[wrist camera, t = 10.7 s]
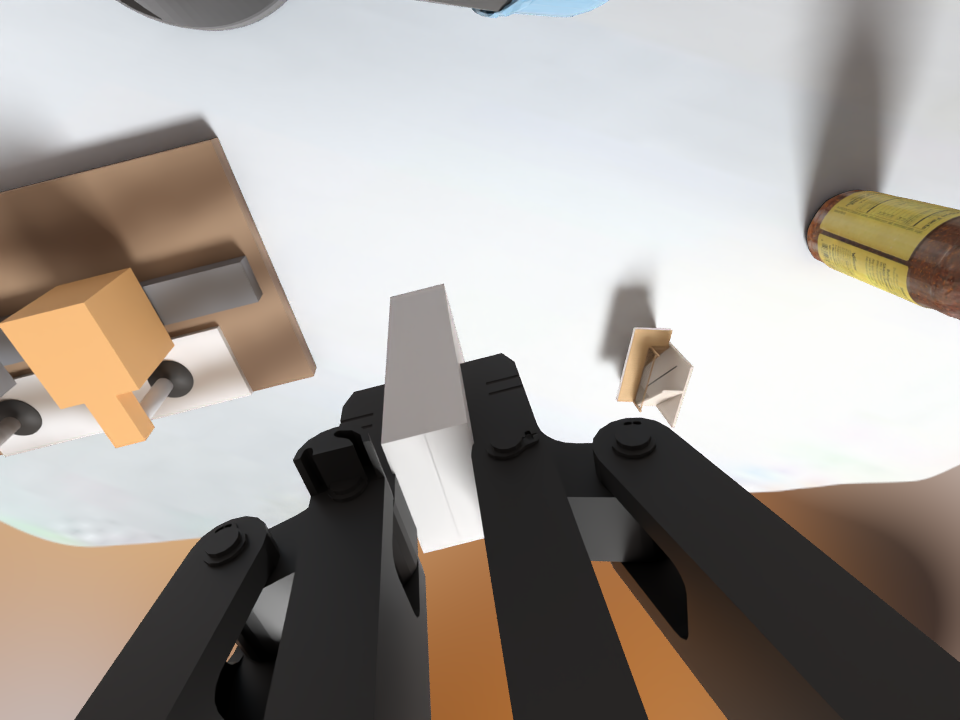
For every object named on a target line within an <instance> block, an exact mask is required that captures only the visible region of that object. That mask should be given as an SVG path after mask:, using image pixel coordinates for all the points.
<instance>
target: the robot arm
mask: <svg viewBox="0 0 960 720" xmlns="http://www.w3.org/2000/svg"><path fill="white" fill-rule="evenodd" d="M116 1H118V2H120V3H121V4H123V5H125V6H126V7H128V8H130V9H132V10H134V11H136V12H138V13H140V14H142V15H144V16H146V17H149V18H151V19H154V20H157V21H159V22H162V23H166V24H169V25H173V26H178V27H183V28H190V29H197V30H207V31H221V30H230V29H235V28H240V27H244V26H247V25H250V24H252V23H255V22H257V21H259V20H261V19H263V18H265V17H267V16H268V15H270V14H271V13H273V12H274V11H276V10H277V9H278V8H280V7H281V6H282V5H283V4H284V3H285V2H286V1H287V0H116ZM417 1H424V2H432V3H439V4H446V5H453V6H461V7H468V8H472V10H473V11H474V12H476V13H477V14H479V15H481V16H485V17H490V18H497V17H498V16H509V15H511V14H513V13H516V14H528V15H540V16H551V17H573V16H574V15H578V14H581V13H585V12H589V11H591V10H593V9H594V8H597V7H599V6H601V5H603V4H604V3H606V2H607V1H609V0H417ZM340 421H341V424H340V426H339V427H335V428H332V429H329V430H327V431H324V432H321V433H320V434H318V435H316V436H315V437H313V438H311V439H310V440H308V441H307V442H306V443H305V444H304V445H303V446H302V447H301V448H300V449H299V450H298V452H297V453H296V455H295V457H294V459H293V462H294V464H295V466H296V468H297V470H298V472H299V473H300V475H301V477H302V479H303V481H304V483H305V485H306V487H307V489H308V491H309V493H310V495H311V499H310V503H309V507H308V508H307V509H306V510H305V511H303V512H301V513H299V514H298V515H296V516H294V517H292V518H290V519H288V520H286V521H284V522H282V523H280V524H278V525H276V526H274V527H272V528H270V529H268V528H267V526H266V524H265V523H264V522H263V521H261V520H260V519H259V518H257V517H248V516H245V517H240V518H236V519H231V520H229V521H227V522H225V523H223V524H221V525H219V526H217V527H215V528H214V529H212V530H211V531H210V532H208V533H207V534H206V535H204V536H203V537H202V538H201V539H200V540H199V541H198V542H197V544H196V545H195V546H194V547H193V548H192V549H191V551H190V552H189V553H188V555H187V556H186V558H185V559H184V561H183V562H182V564H181V565H180V567H179V568H178V569H177V571H176V572H175V574H174V576H173V577H172V578H171V580H170V581H169V583H168V584H167V586H166V587H165V588H164V590H163V591H162V593H161V594H160V596H159V597H158V599H157V600H156V602H155V603H154V604H153V606H152V607H151V609H150V610H149V612H148V613H147V615H146V616H145V618H144V619H143V621H142V622H141V623H140V625H139V626H138V628H137V629H136V631H135V632H134V634H133V635H132V637H131V638H130V640H129V641H128V642H127V644H126V645H125V647H124V648H123V650H122V651H121V653H120V654H119V656H118V657H117V658H116V660H115V661H114V663H113V664H112V666H111V667H110V669H109V670H108V671H107V673H106V675H105V676H104V677H103V679H102V681H101V682H100V683H99V685H98V686H97V688H96V689H95V691H94V692H93V693H92V695H91V696H90V698H89V699H88V701H87V702H86V704H85V705H84V706H83V708H82V709H81V711H80V712H79V714H78V715H77V717H76V718H75V720H431V706H430V682H429V658H428V634H427V609H426V587H425V586H426V585H425V574H424V571H423V568H422V565H421V563H420V560H419V558H418V546H417V537H418V539H419V542H420V545H421V547H422V550H423V552H424V553H426V552H430V551H434V550H438V549H443V548H447V547H450V546H454V545H458V544H462V543H466V542H470V541H474V540H478V539H482V538H484V539H485V545H486V551H487V558H488V564H489V570H490V576H491V583H492V589H493V595H494V601H495V607H496V613H497V619H498V626H499V633H500V639H501V645H502V651H503V657H504V664H505V670H506V676H507V682H508V688H509V695H510V701H511V707H512V713H513V719H514V720H648V717H647V714H646V712H645V709H644V706H643V703H642V701H641V698H640V695H639V693H638V690H637V687H636V685H635V682H634V679H633V676H632V673H631V671H630V668H629V665H628V663H627V660H626V657H625V654H624V652H623V649H622V646H621V643H620V641H619V638H618V635H617V632H616V630H615V627H614V624H613V621H612V619H611V616H610V613H609V610H608V608H607V605H606V602H605V600H604V597H603V594H602V591H601V588H600V586H599V583H598V580H597V578H596V575H595V572H594V569H593V567H592V564H591V561H611V564H612V565H613V568H614V569H615V570H616V572H617V573H618V575H619V576H620V577H621V579H622V580H623V581H624V582H625V584H626V585H627V586H628V588H629V589H630V590H631V592H632V593H633V594H634V596H635V597H636V598H637V600H638V601H639V602H640V603H641V605H642V606H643V608H644V609H645V610H646V611H647V613H648V614H649V615H650V617H651V618H652V620H653V621H654V622H655V624H656V625H657V626H658V627H659V629H660V630H661V631H662V633H663V634H664V636H665V637H666V638H667V639H668V641H669V642H670V643H671V645H672V646H673V647H674V649H675V650H676V651H677V653H678V654H679V655H680V657H681V658H682V659H683V661H684V662H685V663H686V665H687V666H688V667H689V668H690V670H691V671H692V673H693V674H694V675H695V677H696V678H697V679H698V681H699V682H700V683H701V684H702V686H703V687H704V688H705V690H706V691H707V692H708V694H709V695H710V696H711V698H712V699H713V700H714V702H715V703H716V704H717V706H718V707H719V708H720V710H721V711H722V712H723V714H724V715H725V716H726V717H727V719H728V720H960V662H958V661H957V660H956V659H955V658H954V657H952V656H951V655H950V654H949V653H947V652H946V651H945V650H944V649H943V648H941V647H940V646H939V645H938V644H936V643H935V642H934V641H933V640H931V639H930V638H929V637H927V636H926V635H925V634H924V633H923V632H921V631H920V630H919V629H918V628H916V627H915V626H914V625H913V624H911V623H910V622H909V621H908V620H906V619H905V618H904V617H903V616H902V615H900V614H899V613H898V612H896V611H895V610H894V609H893V608H892V607H890V606H889V605H888V604H887V603H885V602H884V601H883V600H882V599H880V598H879V597H878V596H877V595H875V594H874V593H873V592H872V591H871V590H869V589H868V588H867V587H866V586H864V585H863V584H862V583H860V582H859V581H858V580H857V579H856V578H854V577H853V576H852V575H850V574H849V573H848V572H847V571H846V570H844V569H843V568H842V567H841V566H839V565H838V564H837V563H836V562H835V561H833V560H832V559H831V558H830V557H828V556H827V555H826V554H825V553H823V552H822V551H821V550H820V549H818V548H817V547H816V546H815V545H813V544H812V543H811V542H810V541H809V540H807V539H806V538H805V537H803V536H802V535H801V534H800V533H799V532H797V531H796V530H795V529H794V528H792V527H791V526H790V525H789V524H787V523H786V522H785V521H784V520H782V519H781V518H780V517H779V516H778V515H776V514H775V513H774V512H772V511H771V510H770V509H769V508H768V507H766V506H765V505H764V504H763V503H761V502H760V501H759V500H758V499H756V498H755V497H754V496H753V495H751V494H750V493H749V492H748V491H746V490H745V489H744V488H743V487H742V486H740V485H739V484H738V483H737V482H735V481H734V480H733V479H732V478H730V477H729V476H728V475H727V474H725V473H724V472H723V471H722V470H720V469H719V468H718V467H717V466H715V465H714V464H713V463H712V462H711V461H709V460H708V459H707V458H706V457H704V456H703V455H702V454H701V453H699V452H698V451H697V450H696V449H694V448H693V447H692V446H691V445H689V444H688V443H687V442H686V441H684V440H683V439H682V438H681V437H679V436H678V435H677V434H676V433H675V432H673V431H672V430H671V429H670V428H668V427H667V426H665V425H663V424H661V423H659V422H657V421H654V420H650V419H645V418H625V419H621V420H617V421H614V422H611V423H609V424H608V425H606V426H604V427H603V428H601V429H600V430H599V431H598V433H597V434H596V436H595V437H594V438H593V443H565V442H561V441H556V440H554V439H552V438H550V437H548V436H546V435H545V434H544V433H543V432H541V431H540V429H539V427H538V425H537V423H536V420H535V418H534V415H533V412H532V409H531V406H530V404H529V401H528V398H527V395H526V393H525V390H524V387H523V384H522V381H521V379H520V377H519V373H518V370H517V368H516V365H515V362H514V361H512V360H511V359H510V358H508V357H507V356H505V355H504V354H502V353H501V354H497V355H493V356H489V357H485V358H481V359H477V360H473V361H469V362H465V361H464V357H463V353H462V350H461V346H460V342H459V338H458V335H457V331H456V327H455V324H454V320H453V316H452V313H451V309H450V305H449V301H448V298H447V294H446V290H445V287H444V284H440V285H436V286H433V287H429V288H425V289H421V290H417V291H413V292H409V293H405V294H401V295H397V296H393V297H390V312H389V328H388V343H387V359H386V375H385V384H384V385H380V386H376V387H372V388H368V389H364V390H360V391H356V392H354V393H353V394H352V395H351V397H350V398H349V399H348V401H347V402H346V403H345V405H344V406H343V409H342V415H341V420H340ZM235 643H236V644H237V645H238V646H237V648H236V650H235V652H234V654H233V655H232V656H231V658H230V659H229V661H228V662H226V660H227V658H228V656H229V654H230V652H231V650H232V648H233V647H234V645H235Z"/></svg>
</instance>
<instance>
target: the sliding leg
mask: <svg viewBox="0 0 960 720" xmlns="http://www.w3.org/2000/svg"><path fill="white" fill-rule="evenodd" d="M0 328H1V329H2V331H3V332H4V333H5V335H6V336H7V337H8V339H9V340H10V341H11V343H12V344H13V345H14V347H15V348H16V350H17V351H18V352H19V354H20V355H21V356H22V358H23V359H24V360H25V362H26V363H27V364H28V366H29V367H30V369H31V370H32V371H33V373H34V374H35V375H36V377H37V378H38V379H39V381H40V382H41V383H42V385H43V386H44V388H45V389H46V390H47V392H48V393H49V394H50V396H51V397H52V398H53V400H54V401H55V402H56V404H57V405H58V406H59V408H60V409H64V408H68V407H72V406H76V405H80V404H85V405H86V407H87V408H88V410H89V411H90V412H91V414H92V415H93V417H94V418H95V419H96V421H97V422H98V424H99V425H100V427H101V428H102V429H103V431H104V432H105V434H106V435H107V436H108V438H109V439H110V441H111V442H112V444H113V445H114V446H115V448H118V447H122V446H126V445H130V444H134V443H138V442H142V441H146V439H147V438H148V436H149V435H150V433H151V432H152V430H153V429H154V425H153V424H152V422H151V421H150V420H151V418H152V417H153V416H154V414H155V413H156V411H157V410H158V408H159V407H160V406H161V404H162V403H163V401H164V400H165V399H166V397H167V396H168V394H169V393H170V392H171V390H172V389H173V384H172V382H171V381H170V380H168V379H166V378H160V379H158V380H157V381H156V382H155V383H154V385H153V386H152V387H151V389H150V390H149V391H148V393H147V394H146V395H145V396H144V398H143V399H142V400H141V402H140V403H139V402H138V400H137V399H136V397H135V396H134V394H133V393H132V391H136V390H139V389H140V388H141V387H142V385H143V384H144V383H145V382H146V380H147V379H148V378H149V377H150V376H151V374H152V373H153V372H154V371H155V369H156V368H157V367H158V366H159V364H160V363H161V362H162V361H163V359H164V358H165V357H166V356H167V354H168V353H169V352H170V351H171V350H172V348H173V347H174V346H175V345H174V343H173V341H172V340H171V338H170V336H169V334H168V333H167V331H166V329H165V327H164V326H163V324H162V322H161V320H160V319H159V317H158V315H157V313H156V312H155V310H154V308H153V306H152V305H151V303H150V301H149V299H148V298H147V296H146V294H145V292H144V291H143V289H142V287H141V285H140V283H139V282H138V280H137V278H136V276H135V275H134V273H133V271H132V269H131V268H126V269H122V270H118V271H114V272H110V273H106V274H102V275H98V276H94V277H90V278H86V279H82V280H78V281H74V282H71V283H67V284H63V285H59V286H56V287H54V288H53V289H51V290H50V291H48V292H47V293H45V294H44V295H42V296H41V297H39V298H38V299H36V300H34V301H33V302H31V303H30V304H28V305H27V306H25V307H24V308H22V309H21V310H19V311H17V312H16V313H14V314H13V315H11V316H10V317H8V318H7V319H5V320H4V321H2V322H1V323H0Z"/></svg>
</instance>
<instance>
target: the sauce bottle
mask: <svg viewBox="0 0 960 720" xmlns="http://www.w3.org/2000/svg"><path fill="white" fill-rule="evenodd" d="M807 243H808V246H809V250H810V252H811V254H812V255H813V257H814V258H815V259H817V260H819V261H821V262H823V263H825V264H826V265H827V266H829V267H830V268H832V269H834V270H837V271H839V272H841V273H844V274H846V275H848V276H851V277H853V278H856V279H858V280H860V281H863V282H865V283H868V284H870V285H872V286H875V287H877V288H879V289H882V290H884V291H887V292H889V293H891V294H894V295H896V296H898V297H901V298H903V299H905V300H908V301H910V302H912V303H915V304H917V305H919V306H922V307H925V308H930V309H934V310H937V311H939V312H941V313H943V314H945V315H948V316H950V317H953V318H957V319H959V320H960V210H957V209H953V208H948V207H944V206H939V205H935V204H930V203H926V202H921V201H916V200H912V199H907V198H902V197H897V196H892V195H888V194H884V193H879V192H875V191H863V190H854V191H848V192H845V193H842V194H839V195H836V196H834V197H833V198H831V199H829V200H828V201H826V202H825V203H824V204H823V205H822V207H821V208H820V209H819V210H818V211H817V213H816V215H815V216H814V218H813V220H812V222H811V224H810V225H809V228H808V233H807Z"/></svg>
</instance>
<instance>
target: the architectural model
mask: <svg viewBox="0 0 960 720" xmlns="http://www.w3.org/2000/svg"><path fill="white" fill-rule="evenodd" d="M671 334H672V330H671V329H666V328H640V327H634V329H633V333H632V337H631V341H630V345H629V349H628V353H627V357H626V361H625V365H624V369H623V373H622V377H621V381H620V385H619V389H618V393H617V397H616V400H617V401H624V402H633V403H634V404H635V406H636V407H637V409H638V410H639V412H641V411H642V410H641V408H642V406H656V407H657V408H658V409H659V411H660V412H661V413H662V415H663V416H664V418H665V419H666V420H667V422H668V423H669V424H670V426H671V427H672V428H674V427H675V424H676V421H677V418H678V414H679V411H680V408H681V405H682V402H683V399H684V396H685V392H686V389H687V386H688V383H689V380H690V377H691V374H692V370H693V366H692V365H691V364H690V363H689V362H688V361H687V360H686V359H685V358H684V356H683V355H682V354H681V353H680V352H679V351H678V350H677V349H676V348H675V347H674V346H673V345H672V344H671V343H670V342H669V341H670V338H671ZM640 406H641V407H640Z"/></svg>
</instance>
